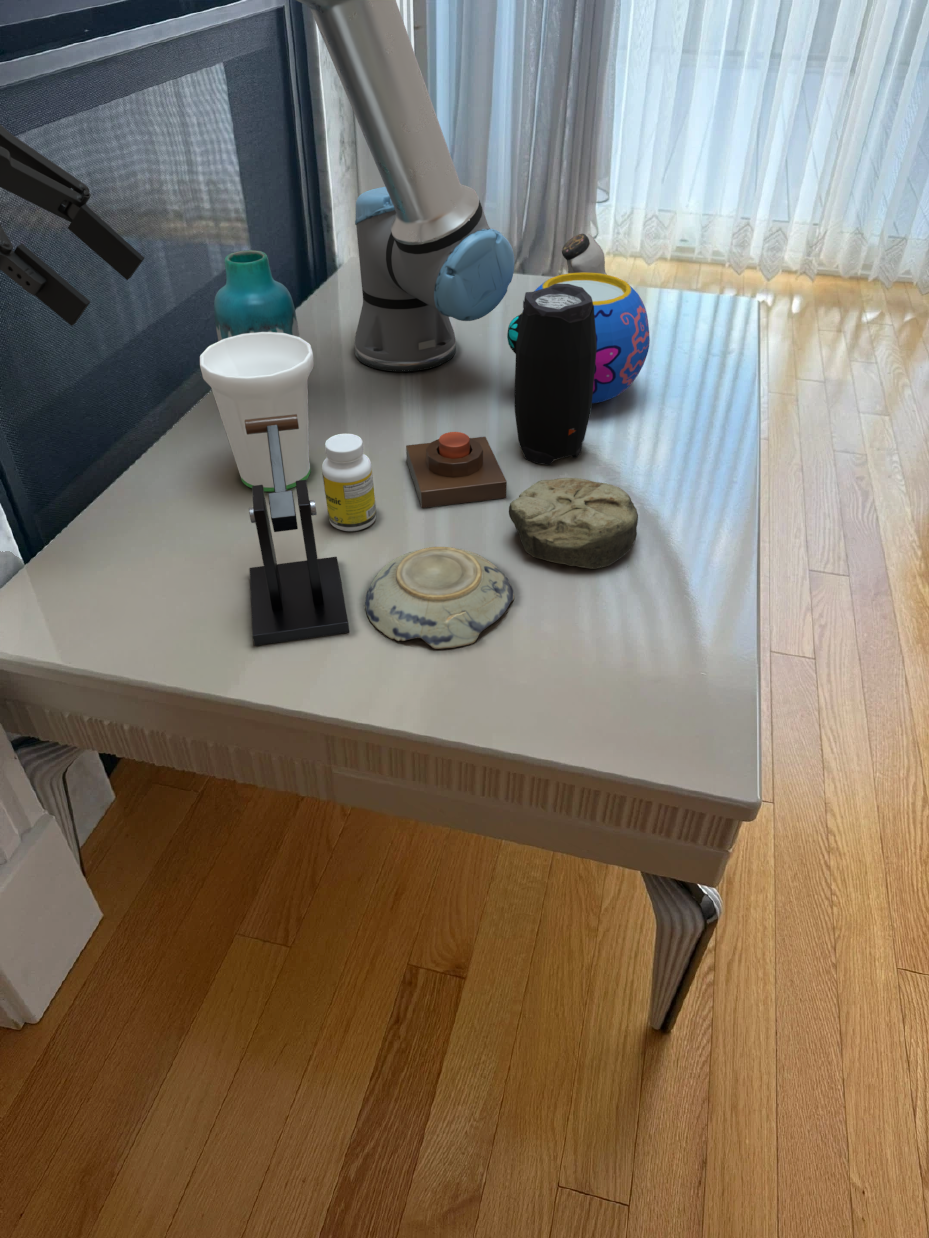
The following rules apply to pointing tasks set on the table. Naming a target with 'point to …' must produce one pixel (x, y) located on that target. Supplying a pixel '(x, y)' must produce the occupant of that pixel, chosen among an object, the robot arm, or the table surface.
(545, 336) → the portable speaker
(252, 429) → the lever
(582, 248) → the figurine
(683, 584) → the table surface
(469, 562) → the decorative bowl
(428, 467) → the button block
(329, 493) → the supplement bottle
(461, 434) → the button
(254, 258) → the vase
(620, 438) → the table surface
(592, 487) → the stone
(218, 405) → the cup
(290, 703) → the table surface
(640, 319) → the ceramic pot
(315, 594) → the bracket
